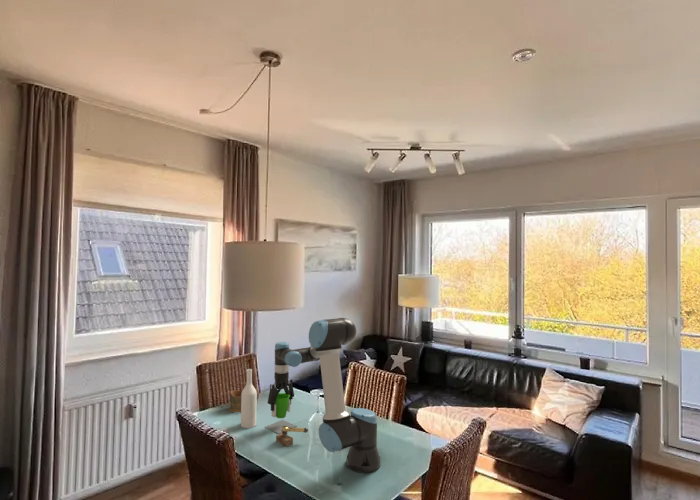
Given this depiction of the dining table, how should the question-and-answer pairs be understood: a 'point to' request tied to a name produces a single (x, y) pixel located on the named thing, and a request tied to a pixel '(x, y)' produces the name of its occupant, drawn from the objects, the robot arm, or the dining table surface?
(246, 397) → the bottle
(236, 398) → the mug
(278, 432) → the felt pad
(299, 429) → the lever
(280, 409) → the cup
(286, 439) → the brown wooden block
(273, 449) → the dining table surface
